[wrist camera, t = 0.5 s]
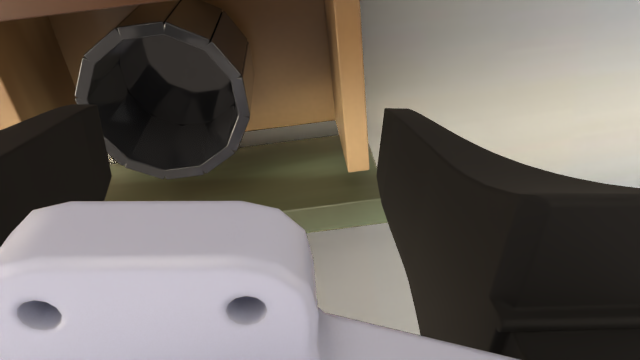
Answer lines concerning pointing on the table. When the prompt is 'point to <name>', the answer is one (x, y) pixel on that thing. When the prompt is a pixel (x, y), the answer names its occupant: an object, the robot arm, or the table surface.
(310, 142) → the drawer
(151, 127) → the dark grey cup
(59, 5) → the cabinet
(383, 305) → the table surface
